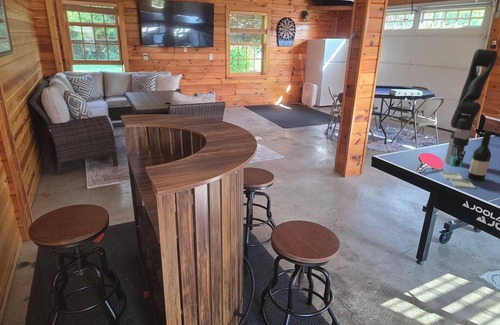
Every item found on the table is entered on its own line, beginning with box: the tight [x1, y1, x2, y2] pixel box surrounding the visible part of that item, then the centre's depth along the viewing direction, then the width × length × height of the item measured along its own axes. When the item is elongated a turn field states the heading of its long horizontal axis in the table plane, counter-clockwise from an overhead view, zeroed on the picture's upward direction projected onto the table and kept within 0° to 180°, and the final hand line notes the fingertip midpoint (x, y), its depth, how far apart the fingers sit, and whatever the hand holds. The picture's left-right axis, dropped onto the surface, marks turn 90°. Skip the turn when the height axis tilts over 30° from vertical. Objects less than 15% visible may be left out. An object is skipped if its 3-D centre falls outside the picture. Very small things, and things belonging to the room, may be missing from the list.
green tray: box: [449, 179, 476, 190], centre depth 186 cm, size 10×10×1 cm
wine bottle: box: [467, 129, 492, 182], centre depth 189 cm, size 8×8×30 cm
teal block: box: [448, 156, 464, 168], centre depth 193 cm, size 5×5×5 cm
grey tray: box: [440, 171, 466, 181], centre depth 196 cm, size 10×10×1 cm
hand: (455, 164), depth 193 cm, fingers closed on teal block, 5 cm apart
